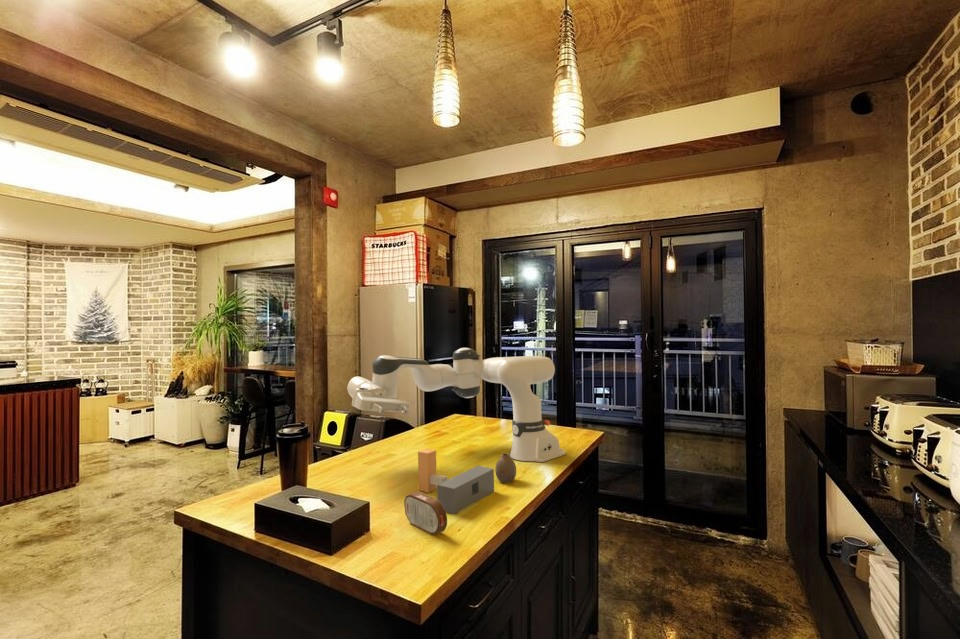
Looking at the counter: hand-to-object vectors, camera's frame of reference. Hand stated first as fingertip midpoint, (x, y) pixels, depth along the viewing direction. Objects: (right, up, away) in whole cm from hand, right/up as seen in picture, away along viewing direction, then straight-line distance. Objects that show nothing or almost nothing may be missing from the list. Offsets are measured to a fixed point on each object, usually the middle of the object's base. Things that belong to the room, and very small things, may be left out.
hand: (394, 411), depth 152 cm
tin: (+15, -22, -38) cm, 46 cm away
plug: (+15, -22, -12) cm, 29 cm away
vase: (+38, -22, -4) cm, 44 cm away
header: (+25, -22, -20) cm, 39 cm away
